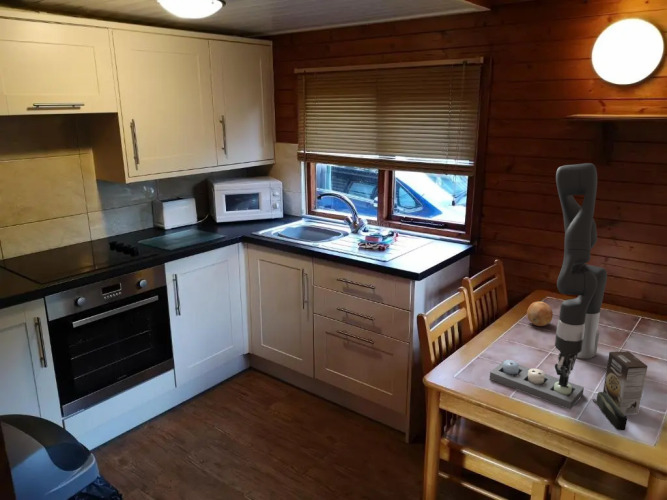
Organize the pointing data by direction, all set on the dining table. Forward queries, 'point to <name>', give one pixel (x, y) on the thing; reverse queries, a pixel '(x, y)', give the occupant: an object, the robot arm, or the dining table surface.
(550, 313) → the tan round ball
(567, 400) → the button board
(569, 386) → the sage button
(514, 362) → the blue button
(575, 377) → the dining table surface
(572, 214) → the robot arm
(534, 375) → the cream button
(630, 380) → the coffee box
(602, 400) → the mobile phone
